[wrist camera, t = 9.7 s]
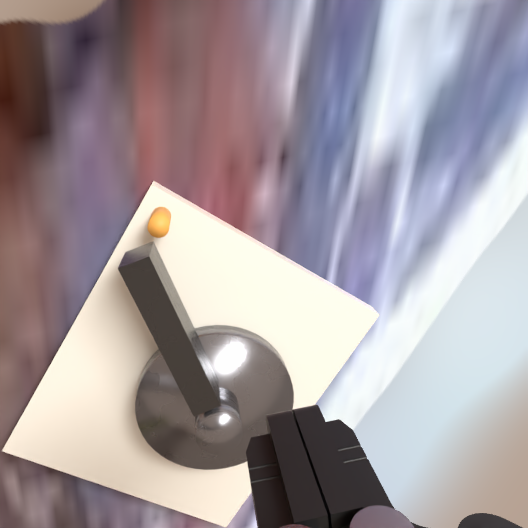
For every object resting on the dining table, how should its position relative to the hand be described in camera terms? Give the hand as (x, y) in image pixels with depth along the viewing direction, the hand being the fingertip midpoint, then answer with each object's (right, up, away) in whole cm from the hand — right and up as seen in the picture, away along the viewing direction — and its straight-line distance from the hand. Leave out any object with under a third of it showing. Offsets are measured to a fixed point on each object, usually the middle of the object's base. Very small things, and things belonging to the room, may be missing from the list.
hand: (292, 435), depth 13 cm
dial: (-6, -2, +19) cm, 19 cm away
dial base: (-6, -3, +21) cm, 22 cm away
